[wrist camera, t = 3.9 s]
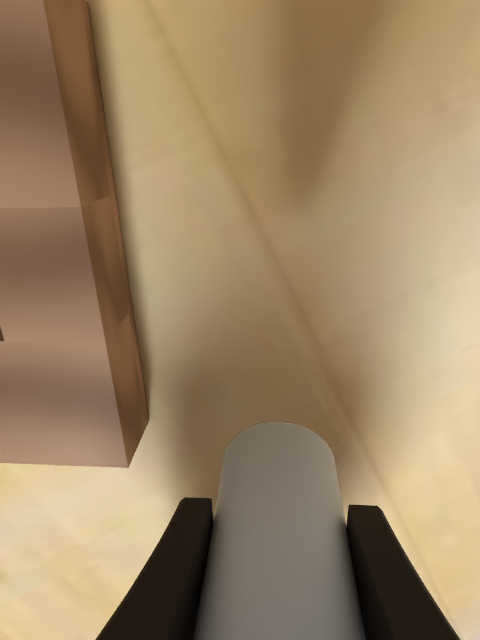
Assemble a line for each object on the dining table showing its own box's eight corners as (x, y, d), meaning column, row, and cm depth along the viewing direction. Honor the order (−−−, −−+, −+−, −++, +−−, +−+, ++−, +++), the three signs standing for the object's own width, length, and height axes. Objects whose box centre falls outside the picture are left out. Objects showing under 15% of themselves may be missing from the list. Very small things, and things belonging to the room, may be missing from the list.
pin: (331, 509, 12) (396, 958, 5) (225, 504, 12) (167, 927, 6) (339, 422, 10) (434, 873, 4) (220, 419, 11) (138, 839, 4)
